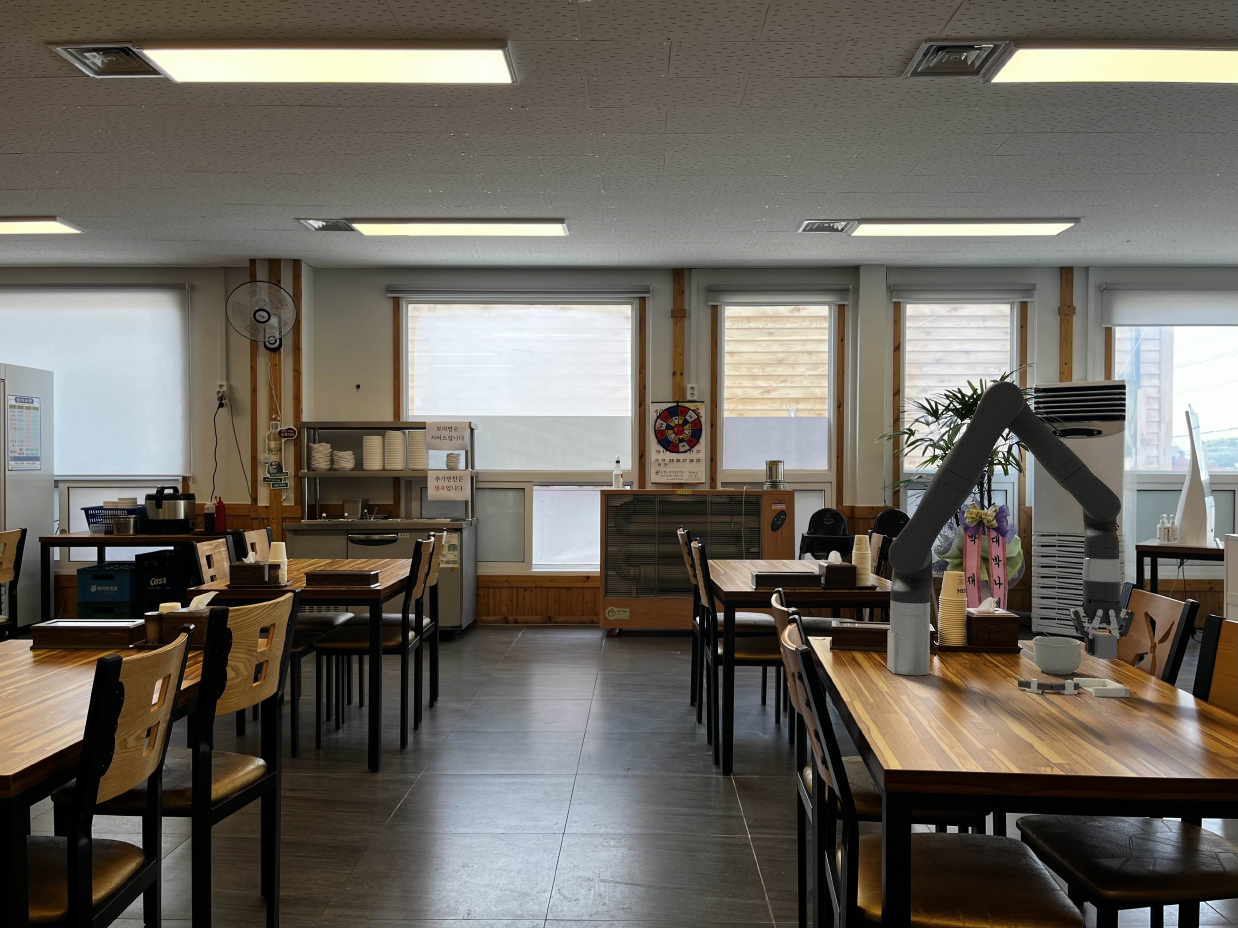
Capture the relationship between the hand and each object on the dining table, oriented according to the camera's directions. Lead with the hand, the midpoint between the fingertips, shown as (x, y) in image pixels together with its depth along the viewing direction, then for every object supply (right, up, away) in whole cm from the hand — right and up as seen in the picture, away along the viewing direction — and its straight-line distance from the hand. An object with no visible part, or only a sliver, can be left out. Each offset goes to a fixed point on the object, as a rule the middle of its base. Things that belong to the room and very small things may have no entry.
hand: (1101, 654), depth 203 cm
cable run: (-12, -8, -1) cm, 15 cm away
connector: (0, 0, 0) cm, 0 cm away
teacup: (0, -9, +22) cm, 24 cm away
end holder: (0, -8, 0) cm, 8 cm away
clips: (-12, -8, -1) cm, 15 cm away
